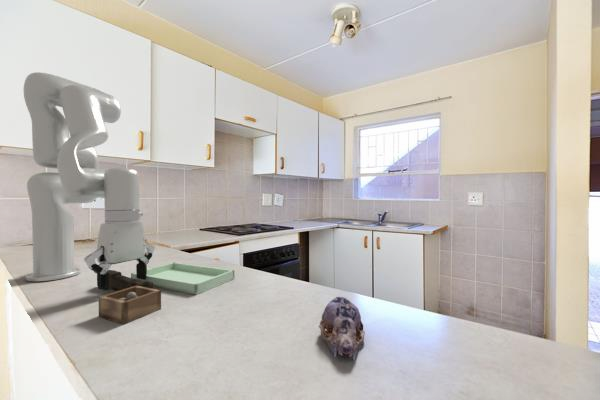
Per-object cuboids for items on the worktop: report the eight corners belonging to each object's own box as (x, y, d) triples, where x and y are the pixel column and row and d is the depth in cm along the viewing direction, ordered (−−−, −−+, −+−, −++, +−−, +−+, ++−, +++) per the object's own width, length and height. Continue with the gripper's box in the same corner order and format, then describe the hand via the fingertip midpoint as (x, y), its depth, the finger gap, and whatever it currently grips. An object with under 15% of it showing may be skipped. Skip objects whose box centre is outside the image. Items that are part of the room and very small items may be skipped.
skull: (365, 367, 39) (365, 324, 39) (312, 361, 41) (312, 319, 41) (364, 328, 51) (364, 295, 51) (322, 324, 53) (322, 292, 53)
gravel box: (98, 316, 56) (98, 295, 56) (136, 303, 63) (136, 284, 63) (124, 324, 53) (123, 301, 53) (161, 308, 60) (160, 288, 60)
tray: (131, 282, 79) (130, 273, 79) (174, 269, 92) (174, 262, 92) (196, 294, 69) (196, 284, 69) (234, 278, 82) (234, 270, 82)
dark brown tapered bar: (154, 295, 69) (154, 276, 69) (138, 300, 66) (138, 280, 66) (116, 283, 79) (116, 267, 79) (100, 287, 76) (100, 270, 76)
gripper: (144, 214, 81) (145, 273, 81) (75, 219, 65) (76, 292, 65) (162, 215, 78) (163, 276, 78) (94, 220, 62) (95, 297, 62)
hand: (123, 283), depth 72 cm, fingers open, 9 cm apart
